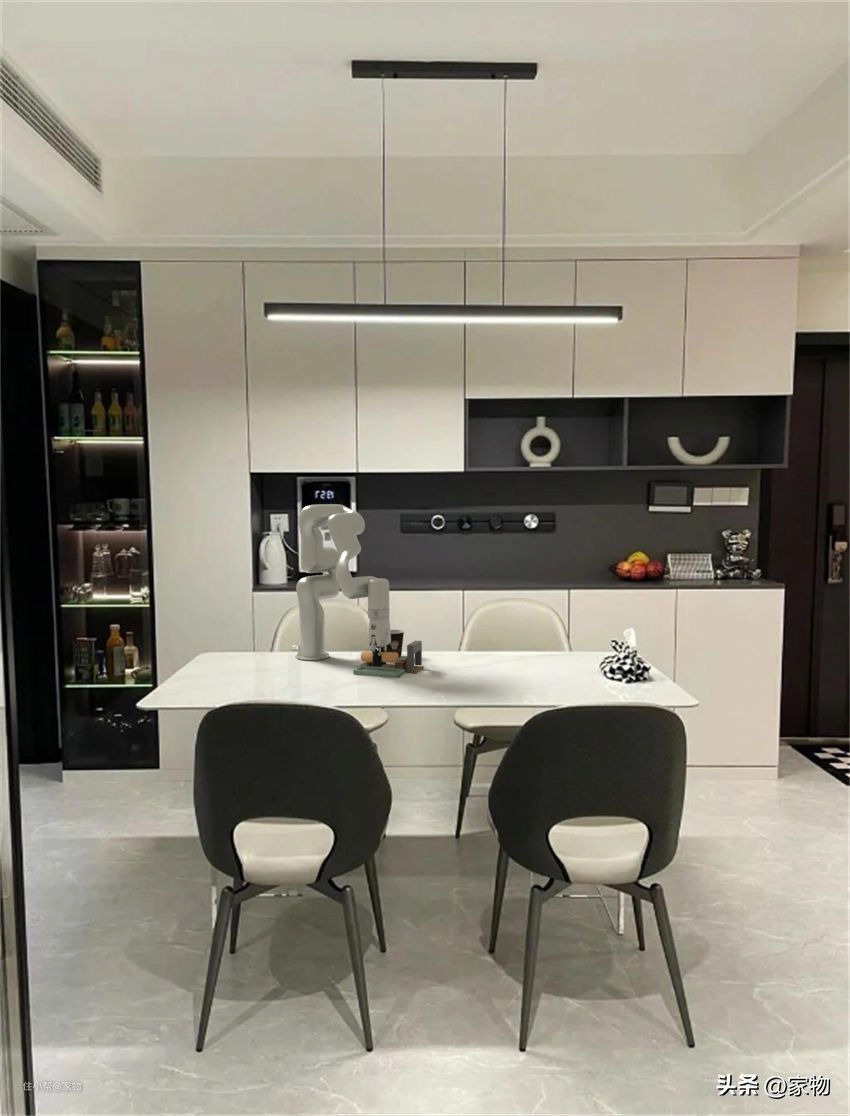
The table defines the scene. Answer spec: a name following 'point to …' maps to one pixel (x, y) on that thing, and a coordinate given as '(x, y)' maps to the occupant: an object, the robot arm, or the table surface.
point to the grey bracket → (411, 649)
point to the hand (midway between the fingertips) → (379, 664)
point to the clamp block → (397, 666)
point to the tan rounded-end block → (386, 657)
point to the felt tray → (379, 671)
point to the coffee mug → (396, 642)
